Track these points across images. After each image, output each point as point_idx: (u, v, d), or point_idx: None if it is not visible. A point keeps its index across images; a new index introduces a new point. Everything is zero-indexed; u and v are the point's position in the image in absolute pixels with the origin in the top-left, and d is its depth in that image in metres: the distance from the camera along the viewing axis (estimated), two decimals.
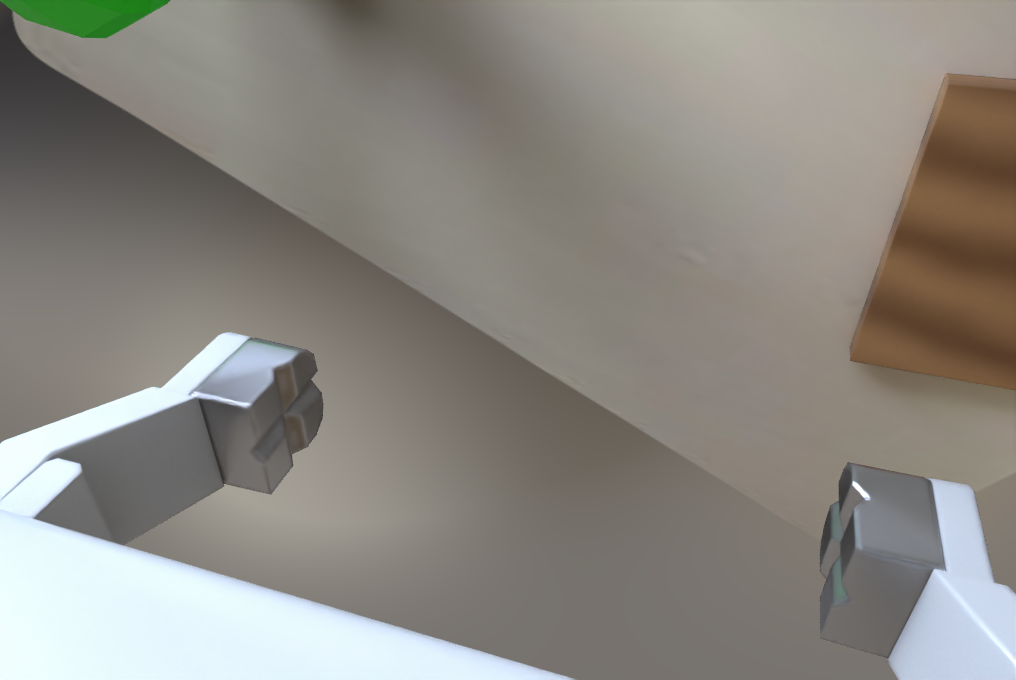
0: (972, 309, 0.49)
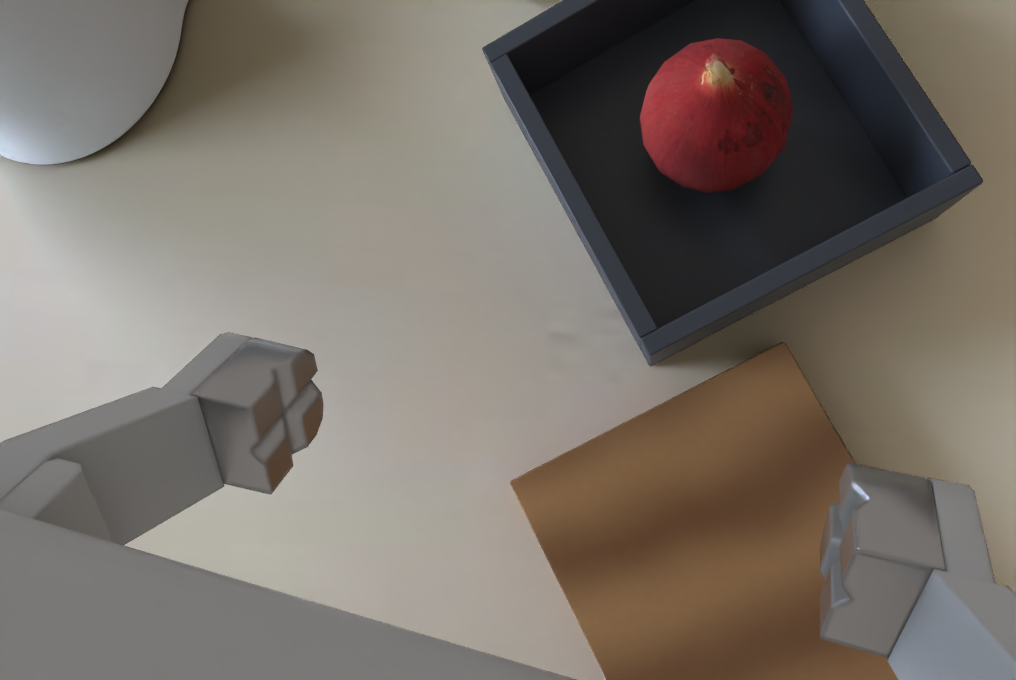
0: None
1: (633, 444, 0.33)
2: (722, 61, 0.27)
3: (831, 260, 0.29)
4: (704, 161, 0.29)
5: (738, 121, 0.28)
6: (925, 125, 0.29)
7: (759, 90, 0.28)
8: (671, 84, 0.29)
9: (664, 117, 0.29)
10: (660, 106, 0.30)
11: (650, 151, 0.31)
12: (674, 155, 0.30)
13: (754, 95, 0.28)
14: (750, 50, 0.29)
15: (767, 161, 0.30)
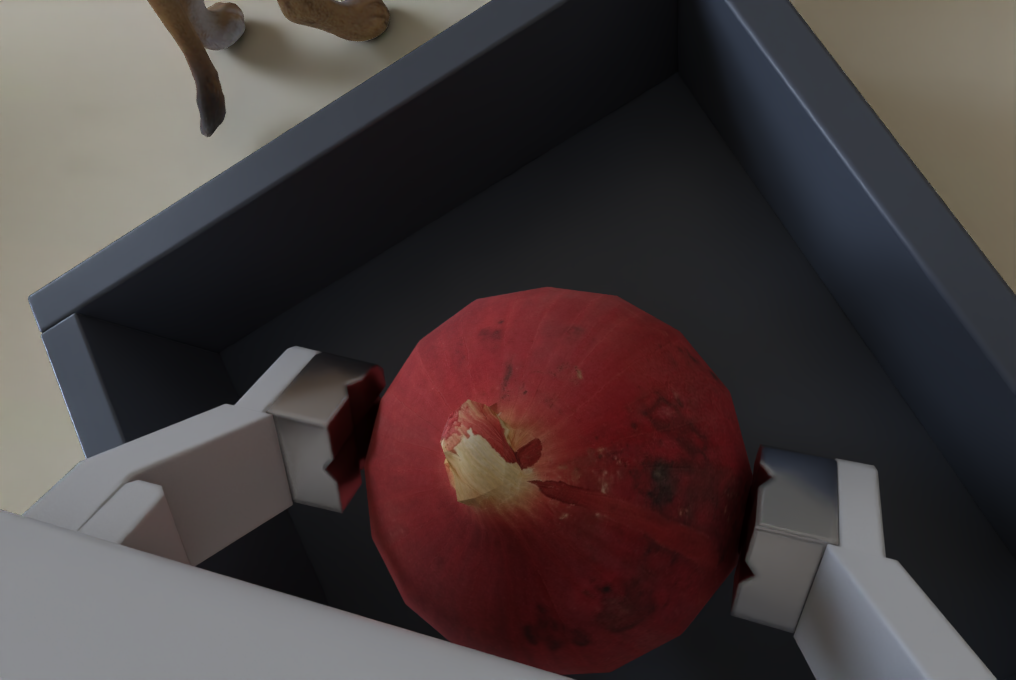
0: None
1: None
2: (490, 433, 0.08)
3: None
4: (500, 655, 0.10)
5: (571, 585, 0.09)
6: None
7: (630, 489, 0.09)
8: (392, 442, 0.10)
9: (385, 528, 0.10)
10: (377, 493, 0.11)
11: None
12: (427, 619, 0.11)
13: (616, 509, 0.09)
14: (609, 349, 0.10)
15: (687, 626, 0.11)
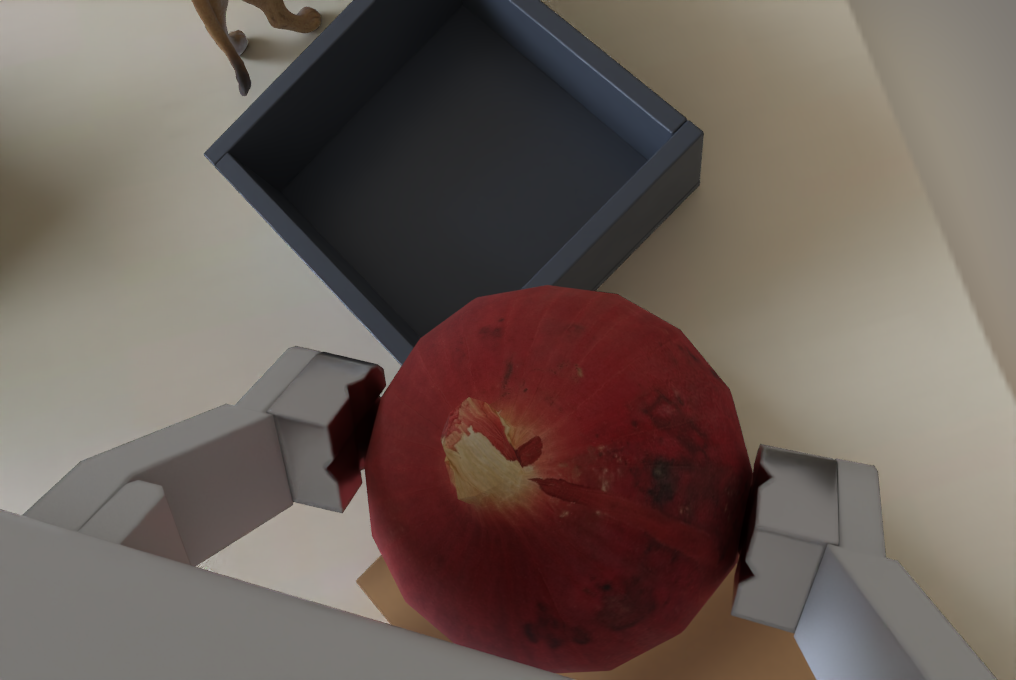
0: None
1: None
2: (491, 430, 0.08)
3: (585, 252, 0.28)
4: (501, 654, 0.10)
5: (571, 583, 0.09)
6: (634, 97, 0.29)
7: (631, 486, 0.09)
8: (393, 440, 0.10)
9: (385, 527, 0.10)
10: (377, 491, 0.11)
11: None
12: (427, 617, 0.11)
13: (617, 508, 0.09)
14: (610, 347, 0.10)
15: (687, 625, 0.11)
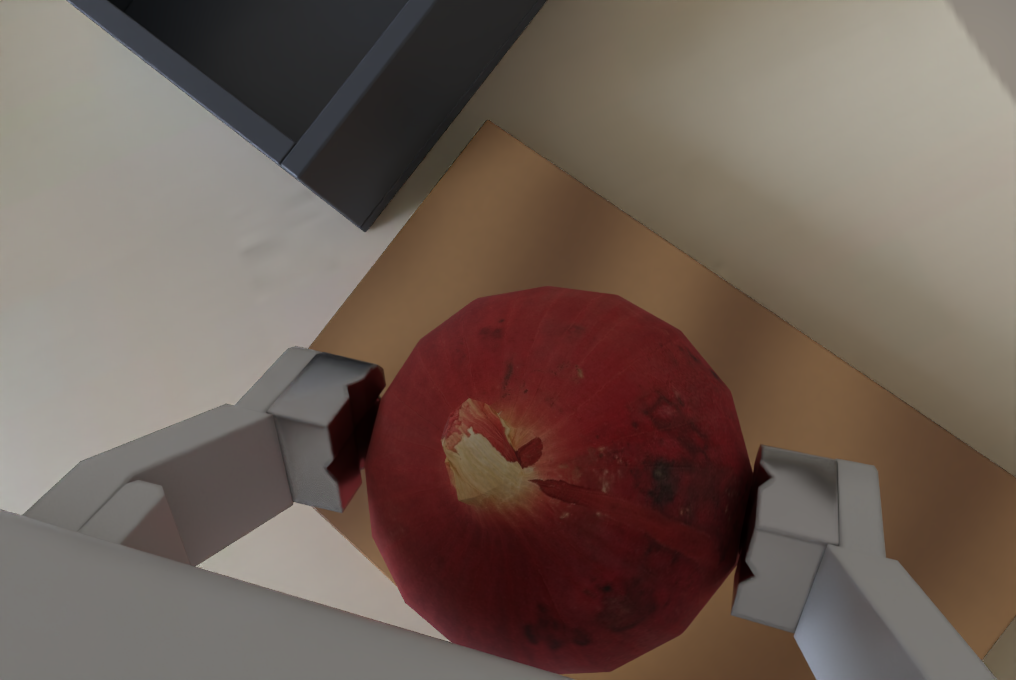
0: None
1: (365, 320, 0.25)
2: (491, 431, 0.08)
3: None
4: (500, 655, 0.10)
5: (571, 584, 0.09)
6: None
7: (631, 487, 0.09)
8: (393, 441, 0.10)
9: (385, 527, 0.10)
10: (377, 492, 0.11)
11: None
12: (427, 618, 0.11)
13: (616, 509, 0.09)
14: (610, 348, 0.10)
15: (687, 626, 0.11)
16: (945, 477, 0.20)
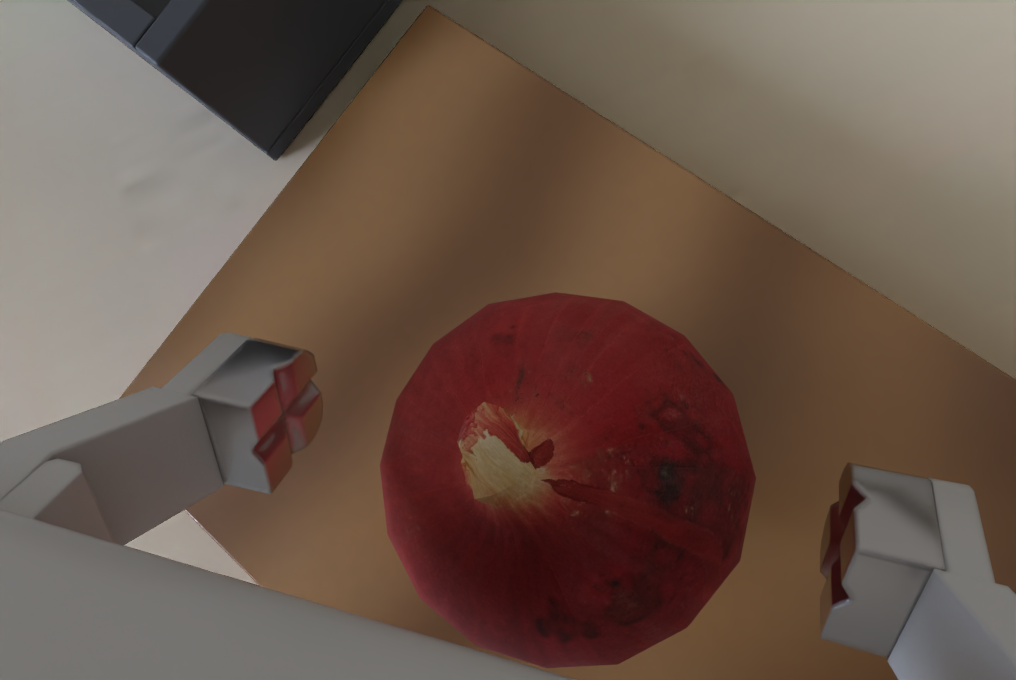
0: (732, 636, 0.15)
1: (265, 268, 0.19)
2: (505, 433, 0.09)
3: None
4: (512, 648, 0.11)
5: (582, 579, 0.10)
6: None
7: (638, 487, 0.09)
8: (409, 443, 0.11)
9: (401, 526, 0.11)
10: (393, 492, 0.11)
11: None
12: (441, 613, 0.11)
13: (625, 506, 0.09)
14: (617, 353, 0.10)
15: (692, 620, 0.11)
16: None
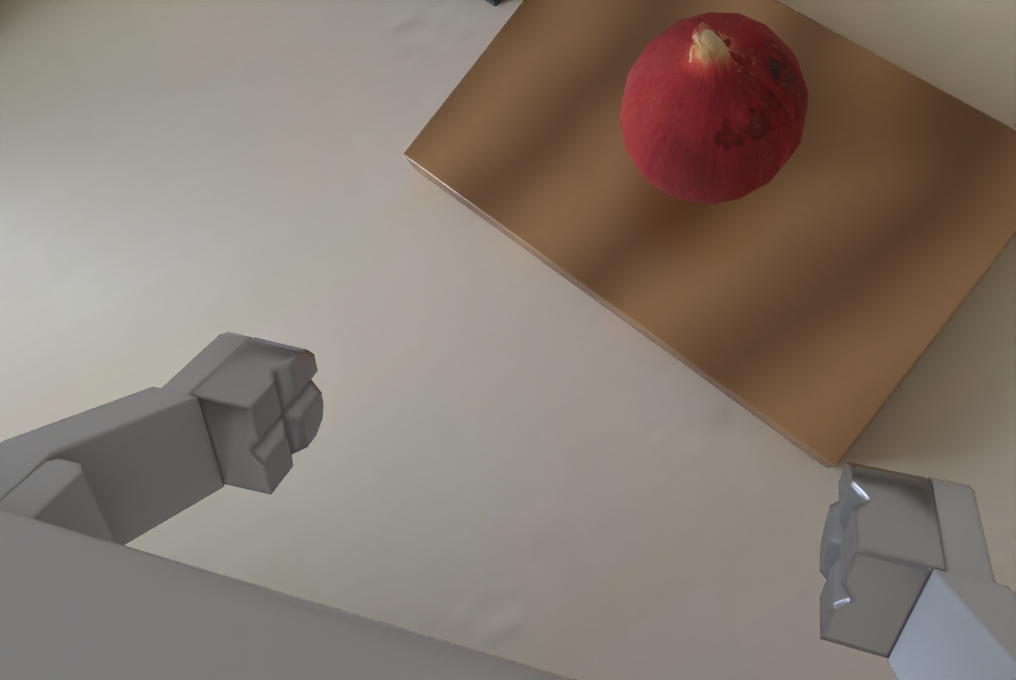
0: (789, 231, 0.28)
1: (504, 60, 0.31)
2: (713, 29, 0.21)
3: None
4: (699, 162, 0.23)
5: (738, 106, 0.22)
6: None
7: (763, 66, 0.22)
8: (652, 67, 0.23)
9: (646, 109, 0.24)
10: (641, 96, 0.24)
11: (633, 155, 0.25)
12: (661, 156, 0.24)
13: (758, 72, 0.22)
14: (749, 21, 0.23)
15: (779, 159, 0.24)
16: (965, 136, 0.27)
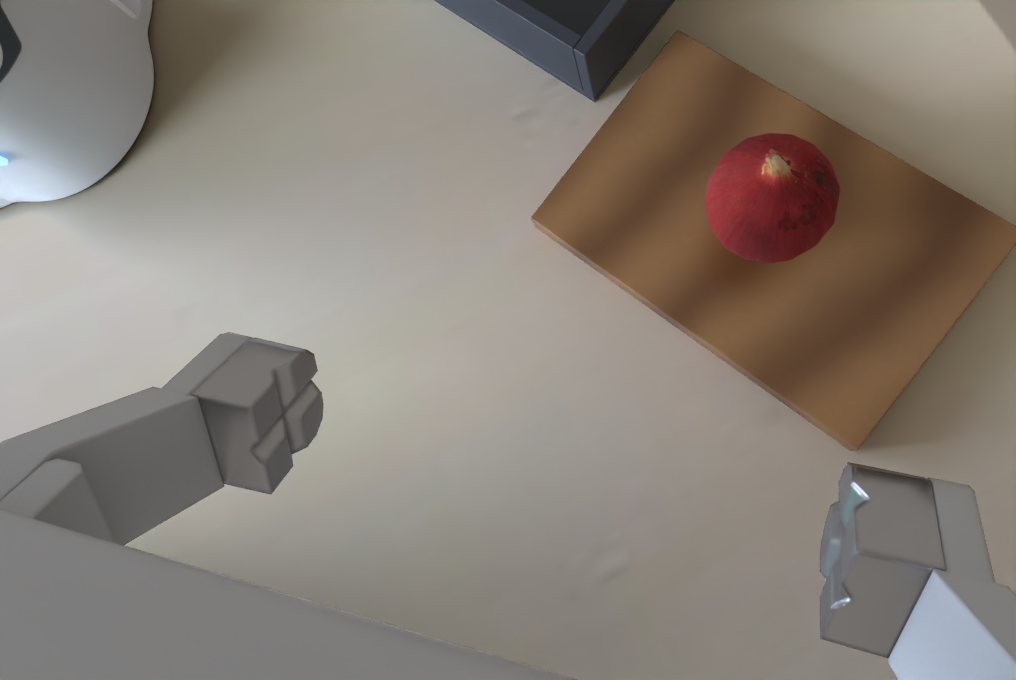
0: (823, 280, 0.38)
1: (607, 147, 0.42)
2: (779, 155, 0.32)
3: None
4: (766, 239, 0.34)
5: (795, 204, 0.33)
6: None
7: (812, 177, 0.33)
8: (733, 174, 0.34)
9: (729, 202, 0.34)
10: (725, 192, 0.34)
11: (716, 230, 0.36)
12: (739, 233, 0.35)
13: (808, 181, 0.33)
14: (801, 143, 0.34)
15: (820, 235, 0.35)
16: (949, 212, 0.38)
